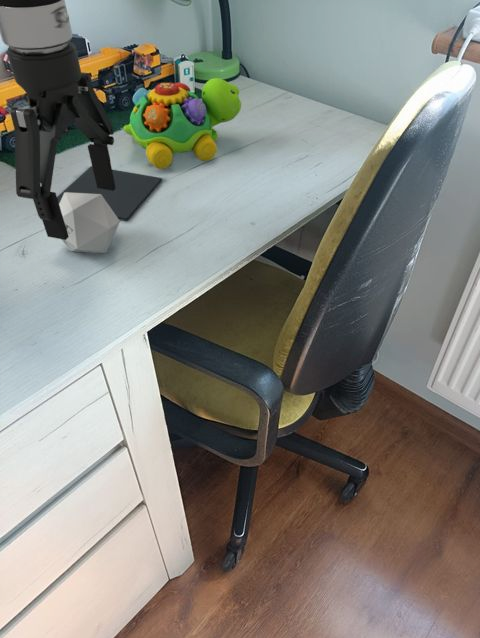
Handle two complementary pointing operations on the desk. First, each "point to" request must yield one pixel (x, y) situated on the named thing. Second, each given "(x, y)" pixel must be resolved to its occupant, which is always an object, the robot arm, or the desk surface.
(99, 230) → the die
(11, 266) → the desk surface
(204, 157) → the turtle toy
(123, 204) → the mat
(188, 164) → the desk surface
